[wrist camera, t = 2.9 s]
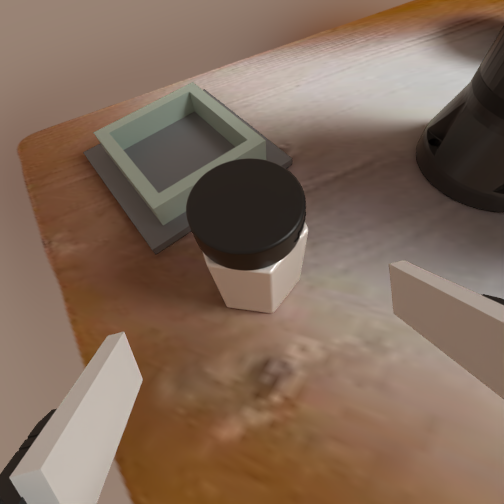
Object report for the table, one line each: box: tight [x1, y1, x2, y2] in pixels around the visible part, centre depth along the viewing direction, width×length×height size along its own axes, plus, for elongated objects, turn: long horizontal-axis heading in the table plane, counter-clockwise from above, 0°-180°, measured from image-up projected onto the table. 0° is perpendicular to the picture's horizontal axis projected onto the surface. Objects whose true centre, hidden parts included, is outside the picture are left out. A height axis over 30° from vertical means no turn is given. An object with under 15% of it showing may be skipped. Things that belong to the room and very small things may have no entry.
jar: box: [186, 158, 308, 313], centre depth 25 cm, size 9×8×12 cm
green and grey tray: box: [83, 82, 292, 254], centre depth 37 cm, size 20×20×4 cm
